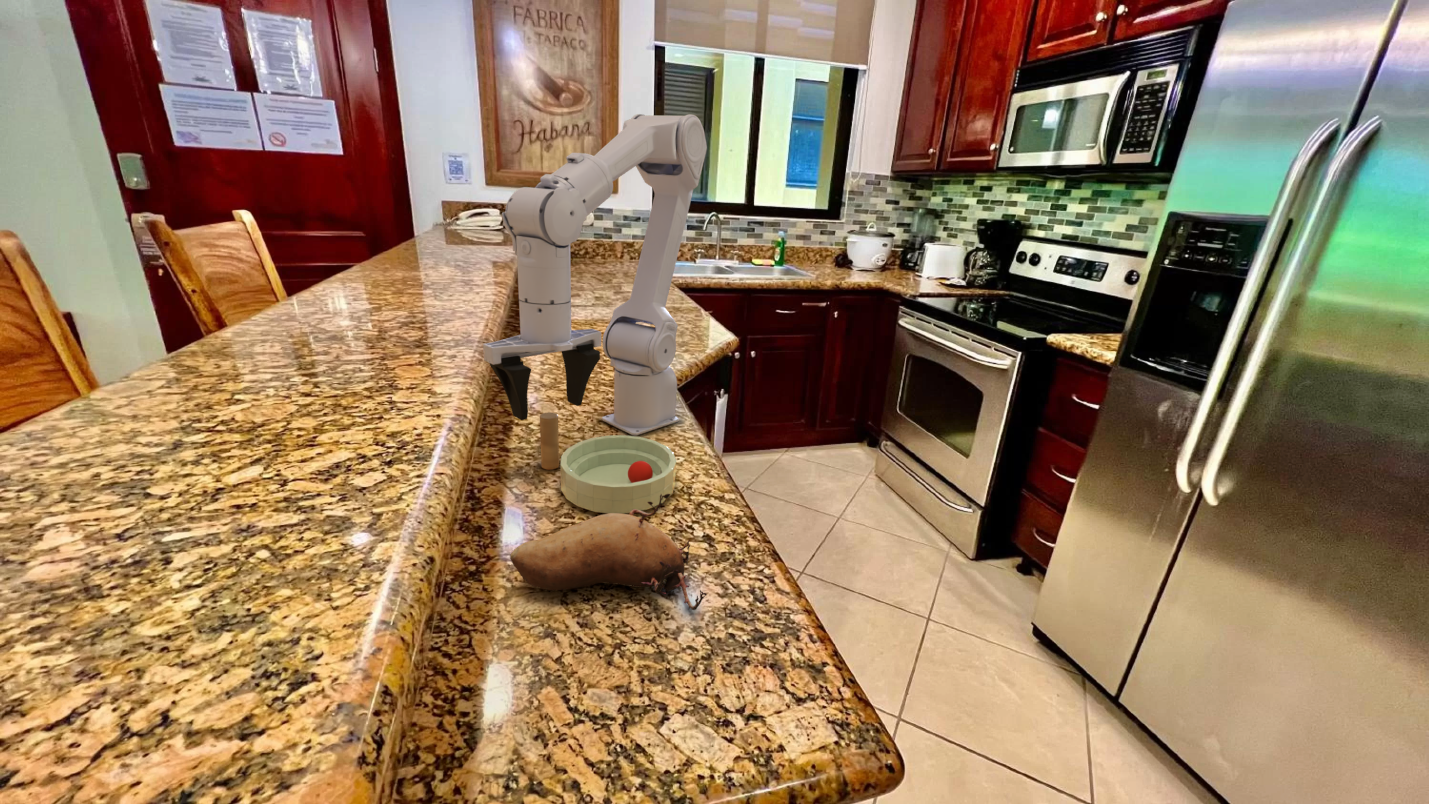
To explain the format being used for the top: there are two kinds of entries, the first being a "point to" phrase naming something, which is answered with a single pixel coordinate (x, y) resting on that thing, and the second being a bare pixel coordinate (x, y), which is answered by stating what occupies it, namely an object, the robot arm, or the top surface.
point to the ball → (639, 471)
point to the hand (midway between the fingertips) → (548, 410)
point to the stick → (549, 440)
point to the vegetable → (605, 555)
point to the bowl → (616, 473)
